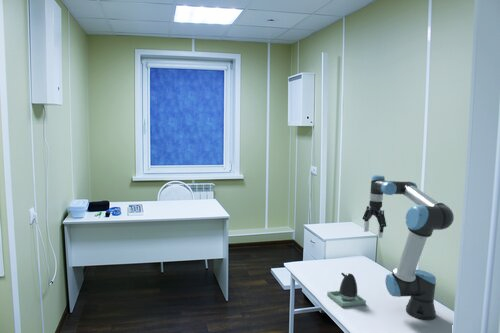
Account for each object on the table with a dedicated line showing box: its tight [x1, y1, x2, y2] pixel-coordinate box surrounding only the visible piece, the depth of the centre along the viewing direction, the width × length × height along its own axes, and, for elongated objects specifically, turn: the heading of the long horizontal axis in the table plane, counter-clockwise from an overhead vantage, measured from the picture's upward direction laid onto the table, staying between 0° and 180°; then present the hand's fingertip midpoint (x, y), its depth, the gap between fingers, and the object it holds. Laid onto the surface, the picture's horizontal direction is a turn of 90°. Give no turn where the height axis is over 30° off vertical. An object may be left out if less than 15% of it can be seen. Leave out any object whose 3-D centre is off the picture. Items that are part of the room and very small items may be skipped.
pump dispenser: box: [338, 272, 359, 301], centre depth 232 cm, size 10×10×15 cm
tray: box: [326, 290, 367, 308], centre depth 232 cm, size 16×16×2 cm
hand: (372, 234), depth 248 cm, fingers open, 13 cm apart
